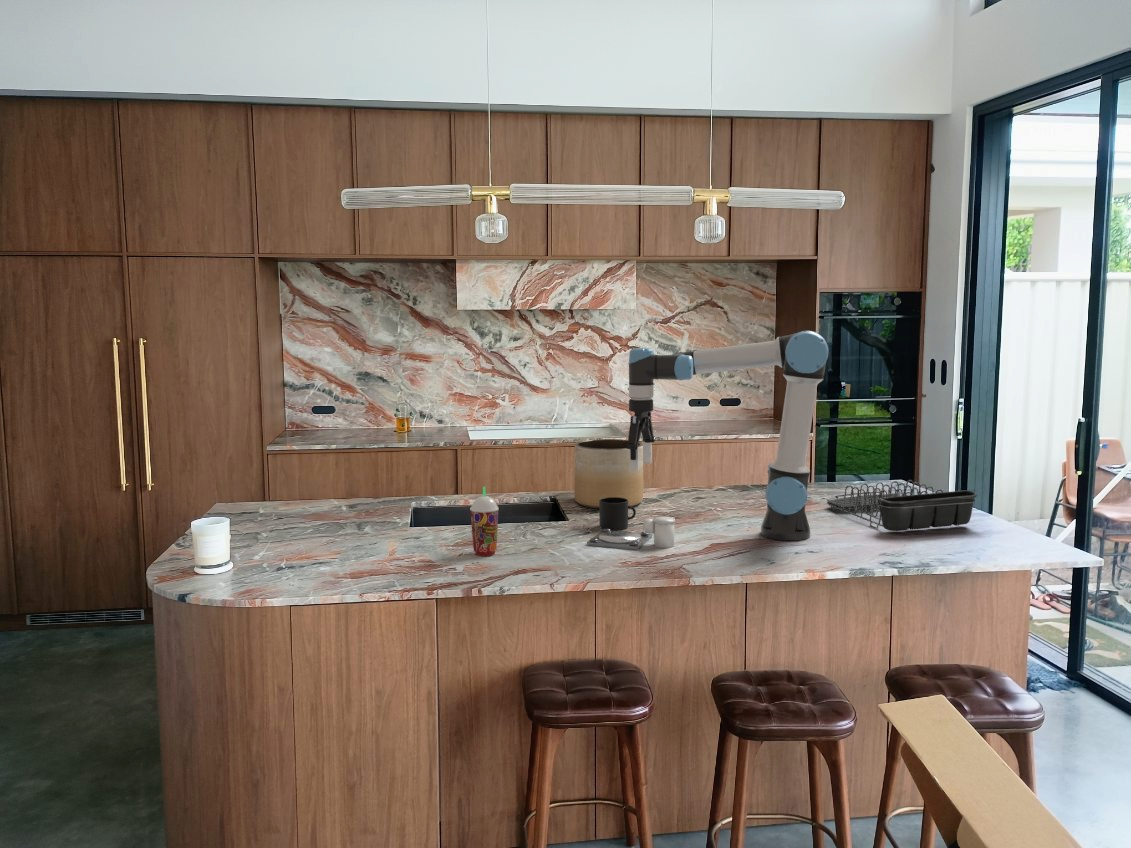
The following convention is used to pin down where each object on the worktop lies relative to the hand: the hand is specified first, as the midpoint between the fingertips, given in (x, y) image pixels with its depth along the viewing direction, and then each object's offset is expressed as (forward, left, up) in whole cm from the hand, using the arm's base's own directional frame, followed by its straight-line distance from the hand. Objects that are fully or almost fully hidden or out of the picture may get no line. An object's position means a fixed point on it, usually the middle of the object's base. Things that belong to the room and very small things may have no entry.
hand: (640, 466), depth 277 cm
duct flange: (+5, +7, -22) cm, 24 cm away
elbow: (-8, +7, -23) cm, 25 cm away
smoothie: (+38, +34, -23) cm, 55 cm away
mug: (+11, -10, -23) cm, 27 cm away
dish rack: (-74, -54, -23) cm, 95 cm away
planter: (+25, -44, -23) cm, 55 cm away
